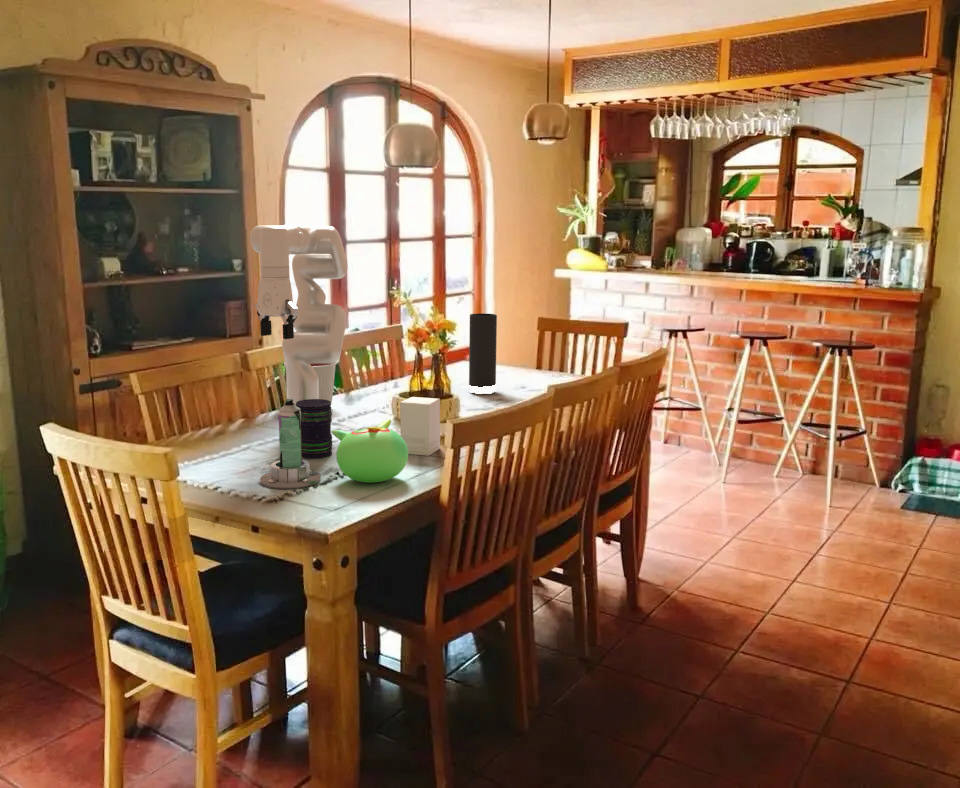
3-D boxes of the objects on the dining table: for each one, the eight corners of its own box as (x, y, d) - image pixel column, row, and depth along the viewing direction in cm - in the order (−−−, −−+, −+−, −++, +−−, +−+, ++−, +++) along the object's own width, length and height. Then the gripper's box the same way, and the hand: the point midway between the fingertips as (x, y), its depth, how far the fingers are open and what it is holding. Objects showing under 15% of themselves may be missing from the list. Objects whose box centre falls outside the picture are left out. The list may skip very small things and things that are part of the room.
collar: (295, 468, 231) (295, 453, 230) (333, 479, 221) (332, 463, 221) (247, 480, 220) (247, 464, 219) (284, 493, 210) (284, 476, 209)
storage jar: (302, 460, 239) (300, 407, 236) (292, 452, 247) (290, 400, 244) (337, 456, 243) (336, 404, 240) (326, 448, 252) (325, 397, 249)
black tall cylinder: (467, 390, 342) (468, 313, 336) (493, 389, 343) (494, 313, 337) (470, 395, 331) (471, 316, 326) (496, 394, 333) (498, 316, 327)
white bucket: (346, 410, 302) (345, 350, 298) (297, 416, 292) (295, 354, 287) (324, 401, 316) (323, 344, 312) (277, 407, 306) (275, 347, 302)
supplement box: (441, 448, 253) (441, 398, 250) (429, 456, 245) (429, 404, 242) (412, 445, 256) (412, 395, 253) (399, 453, 248) (399, 401, 245)
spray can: (305, 474, 223) (303, 397, 219) (298, 480, 218) (296, 402, 214) (284, 473, 224) (282, 397, 220) (277, 479, 218) (274, 401, 214)
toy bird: (346, 493, 210) (345, 434, 208) (329, 475, 226) (327, 419, 223) (416, 485, 218) (416, 428, 215) (395, 468, 233) (395, 414, 230)
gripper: (244, 272, 236) (246, 335, 240) (283, 275, 225) (285, 341, 229) (267, 271, 242) (269, 332, 245) (306, 274, 231) (308, 338, 234)
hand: (277, 337), depth 237 cm, fingers open, 9 cm apart
